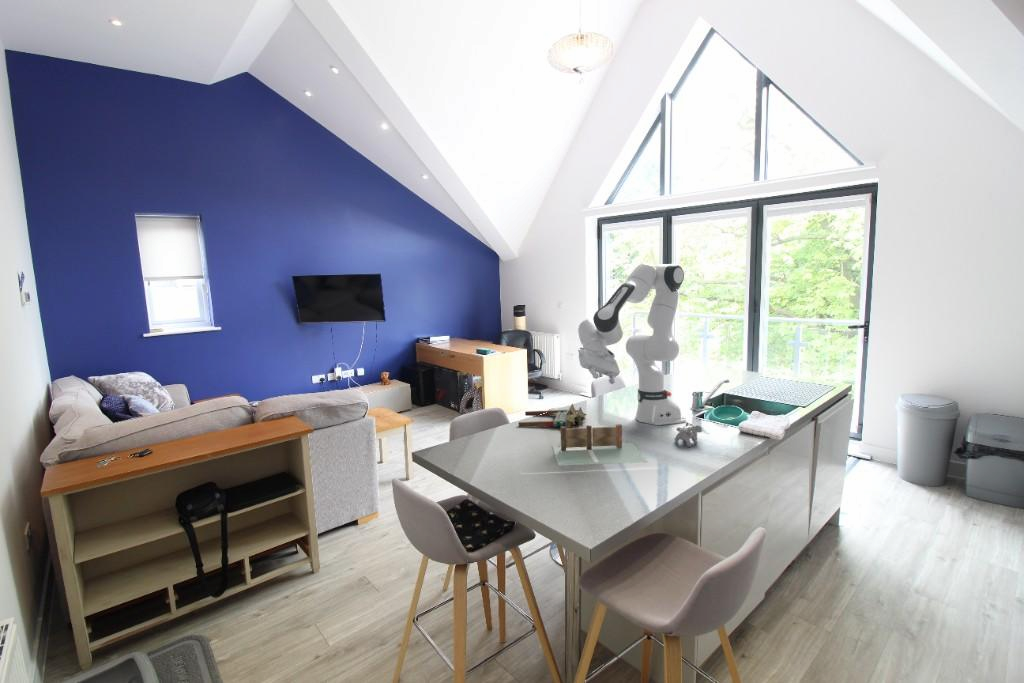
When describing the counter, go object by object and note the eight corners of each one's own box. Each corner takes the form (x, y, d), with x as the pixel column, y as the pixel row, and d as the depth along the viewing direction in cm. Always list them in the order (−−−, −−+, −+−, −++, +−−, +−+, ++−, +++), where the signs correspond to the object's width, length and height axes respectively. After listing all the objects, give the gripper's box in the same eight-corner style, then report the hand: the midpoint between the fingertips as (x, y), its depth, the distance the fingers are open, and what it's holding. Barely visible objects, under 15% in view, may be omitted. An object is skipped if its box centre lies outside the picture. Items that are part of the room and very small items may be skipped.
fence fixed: (591, 448, 189) (591, 425, 188) (592, 449, 187) (592, 426, 186) (560, 449, 188) (560, 426, 187) (561, 451, 186) (561, 428, 185)
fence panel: (593, 448, 187) (593, 426, 186) (592, 447, 189) (592, 425, 187) (621, 447, 187) (621, 425, 186) (620, 445, 189) (620, 424, 188)
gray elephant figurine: (671, 445, 192) (671, 426, 190) (683, 435, 201) (683, 417, 199) (695, 450, 186) (695, 431, 184) (706, 439, 195) (706, 421, 193)
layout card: (631, 443, 193) (631, 442, 193) (647, 462, 174) (647, 461, 174) (551, 447, 192) (551, 445, 192) (558, 466, 172) (558, 465, 172)
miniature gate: (526, 406, 242) (587, 403, 236) (527, 416, 242) (587, 414, 236) (516, 422, 216) (584, 419, 209) (517, 434, 216) (585, 431, 210)
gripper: (582, 342, 194) (591, 370, 186) (616, 354, 206) (626, 381, 197) (572, 350, 198) (580, 378, 189) (606, 362, 209) (615, 389, 201)
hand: (604, 380), depth 193 cm, fingers open, 8 cm apart
